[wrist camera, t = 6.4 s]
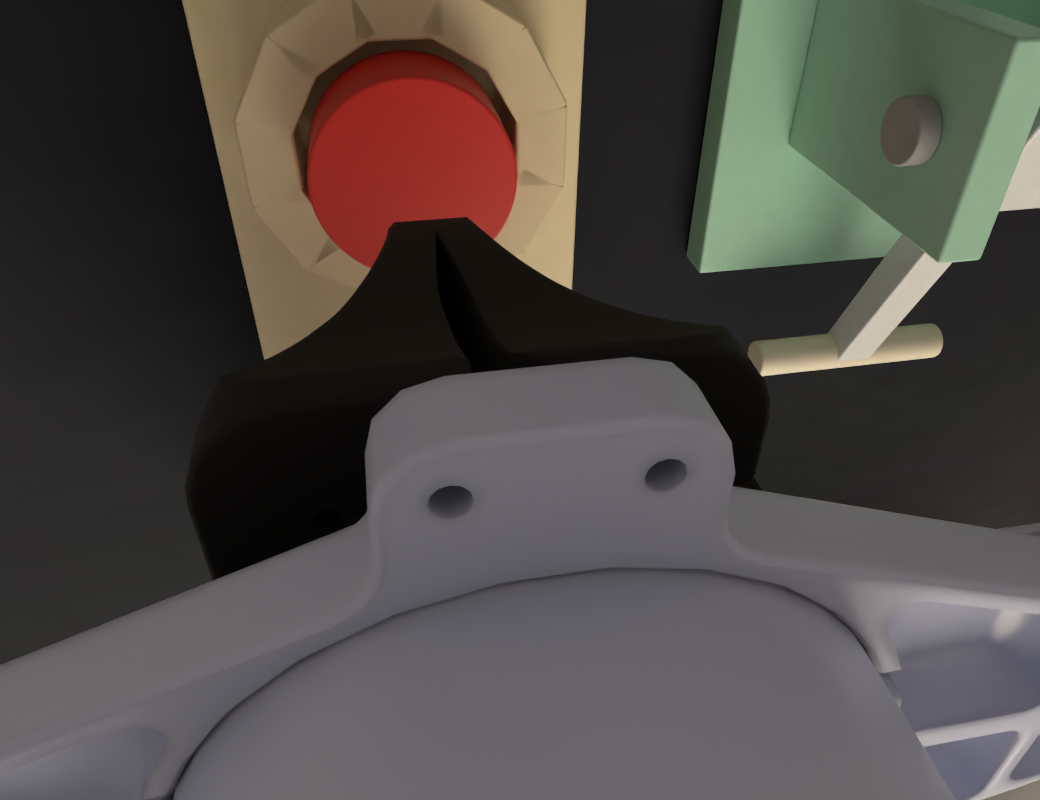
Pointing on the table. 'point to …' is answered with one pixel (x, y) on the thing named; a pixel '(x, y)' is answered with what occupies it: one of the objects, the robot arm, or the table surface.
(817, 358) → the lever
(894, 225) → the bracket
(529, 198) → the button housing
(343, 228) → the red button
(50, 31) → the table surface
